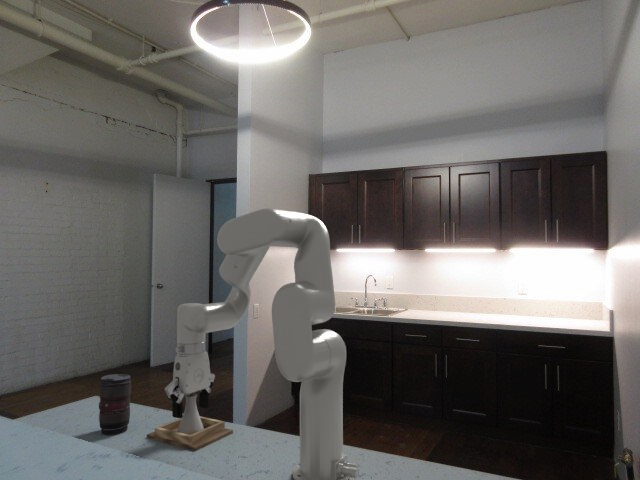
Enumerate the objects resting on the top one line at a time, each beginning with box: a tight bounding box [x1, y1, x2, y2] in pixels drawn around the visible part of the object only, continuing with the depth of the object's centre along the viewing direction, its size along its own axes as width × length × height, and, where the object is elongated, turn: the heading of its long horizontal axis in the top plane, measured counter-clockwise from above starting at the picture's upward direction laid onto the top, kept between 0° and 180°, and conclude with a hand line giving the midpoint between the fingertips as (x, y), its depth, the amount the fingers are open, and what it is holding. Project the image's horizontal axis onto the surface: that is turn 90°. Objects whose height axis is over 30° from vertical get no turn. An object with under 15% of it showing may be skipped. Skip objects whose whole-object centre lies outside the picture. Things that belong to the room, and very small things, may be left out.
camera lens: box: [98, 373, 132, 436], centre depth 129 cm, size 8×8×15 cm
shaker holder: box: [146, 415, 234, 452], centre depth 125 cm, size 18×14×3 cm
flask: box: [177, 393, 204, 435], centre depth 125 cm, size 7×7×10 cm
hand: (191, 412), depth 125 cm, fingers open, 9 cm apart
